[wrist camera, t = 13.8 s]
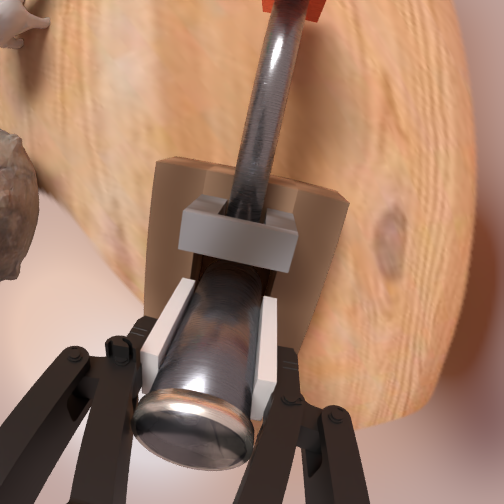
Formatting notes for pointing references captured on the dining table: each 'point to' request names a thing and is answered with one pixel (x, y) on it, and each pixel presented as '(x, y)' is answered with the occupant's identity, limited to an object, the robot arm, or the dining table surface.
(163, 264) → the dock block
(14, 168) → the bowl
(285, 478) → the robot arm
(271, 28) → the pin
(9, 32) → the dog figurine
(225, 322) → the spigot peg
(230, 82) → the dining table surface
